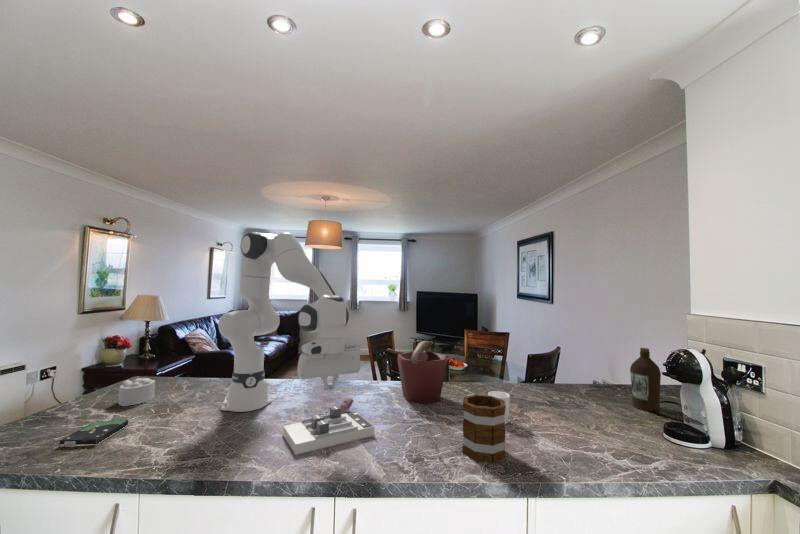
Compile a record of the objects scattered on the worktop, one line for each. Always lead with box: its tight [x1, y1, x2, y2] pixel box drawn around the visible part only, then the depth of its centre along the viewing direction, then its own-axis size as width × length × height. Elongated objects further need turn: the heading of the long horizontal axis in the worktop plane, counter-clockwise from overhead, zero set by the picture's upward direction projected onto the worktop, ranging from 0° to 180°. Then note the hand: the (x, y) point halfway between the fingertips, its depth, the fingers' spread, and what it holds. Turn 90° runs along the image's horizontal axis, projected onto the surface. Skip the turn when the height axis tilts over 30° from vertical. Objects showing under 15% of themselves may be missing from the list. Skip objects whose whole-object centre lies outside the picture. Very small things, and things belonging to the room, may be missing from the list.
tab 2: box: [329, 405, 341, 419], centre depth 119 cm, size 3×3×4 cm
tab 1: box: [316, 420, 329, 435], centre depth 106 cm, size 3×3×4 cm
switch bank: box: [282, 411, 375, 456], centre depth 113 cm, size 15×26×4 cm, turn 122°
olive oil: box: [629, 347, 662, 412], centre depth 145 cm, size 11×11×25 cm
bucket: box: [397, 340, 448, 406], centre depth 152 cm, size 24×22×25 cm
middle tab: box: [311, 414, 324, 429], centre depth 111 cm, size 3×3×4 cm
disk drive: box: [59, 419, 129, 445], centre depth 109 cm, size 10×3×15 cm
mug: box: [462, 393, 506, 464], centre depth 107 cm, size 20×14×15 cm
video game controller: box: [339, 397, 354, 414], centre depth 131 cm, size 10×5×7 cm, turn 170°
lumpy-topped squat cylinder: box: [118, 377, 156, 406], centre depth 141 cm, size 10×13×9 cm
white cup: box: [487, 390, 511, 425], centre depth 127 cm, size 8×8×10 cm
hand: (329, 389), depth 108 cm, fingers closed
